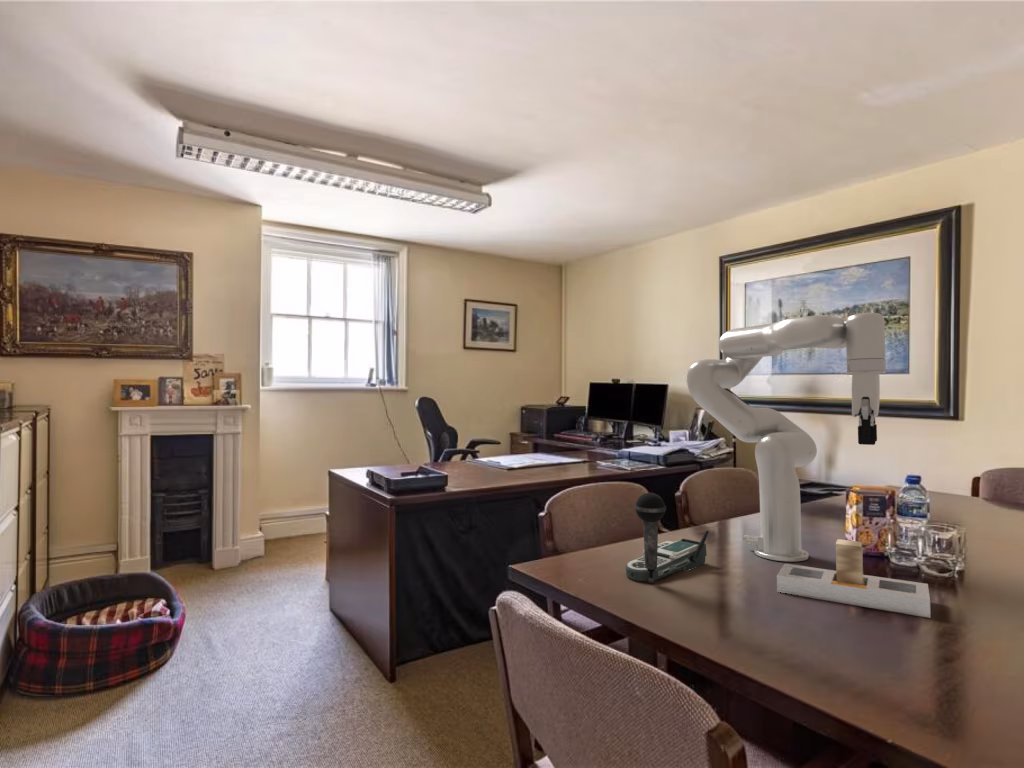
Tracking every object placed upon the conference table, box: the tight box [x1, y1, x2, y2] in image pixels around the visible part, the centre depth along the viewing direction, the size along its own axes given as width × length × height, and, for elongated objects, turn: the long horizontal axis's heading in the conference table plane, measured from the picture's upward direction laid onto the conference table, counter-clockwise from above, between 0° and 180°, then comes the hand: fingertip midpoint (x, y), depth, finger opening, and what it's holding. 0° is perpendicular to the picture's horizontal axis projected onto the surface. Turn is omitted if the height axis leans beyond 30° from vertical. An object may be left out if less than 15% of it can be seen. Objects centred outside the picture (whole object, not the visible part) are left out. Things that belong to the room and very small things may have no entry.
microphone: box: [634, 492, 667, 584], centre depth 126 cm, size 7×7×20 cm
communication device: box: [625, 530, 709, 582], centre depth 136 cm, size 12×24×9 cm, turn 129°
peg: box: [835, 538, 864, 585], centre depth 116 cm, size 4×4×11 cm
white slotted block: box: [776, 563, 931, 619], centre depth 116 cm, size 26×10×4 cm, turn 56°
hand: (867, 442), depth 129 cm, fingers open, 9 cm apart
